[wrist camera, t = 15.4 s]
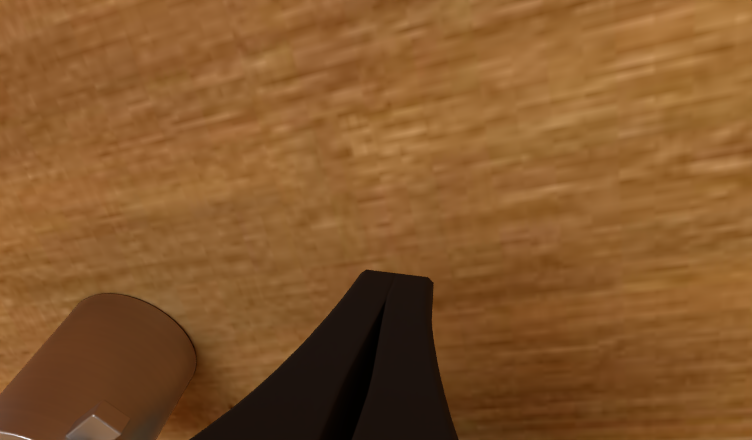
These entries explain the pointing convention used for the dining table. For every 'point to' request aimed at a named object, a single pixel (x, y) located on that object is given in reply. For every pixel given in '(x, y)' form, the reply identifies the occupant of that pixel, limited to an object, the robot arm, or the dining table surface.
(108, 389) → the measuring cup
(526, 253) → the dining table surface
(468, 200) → the dining table surface
